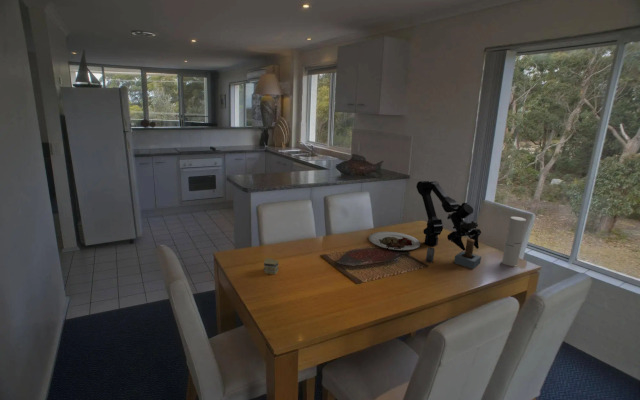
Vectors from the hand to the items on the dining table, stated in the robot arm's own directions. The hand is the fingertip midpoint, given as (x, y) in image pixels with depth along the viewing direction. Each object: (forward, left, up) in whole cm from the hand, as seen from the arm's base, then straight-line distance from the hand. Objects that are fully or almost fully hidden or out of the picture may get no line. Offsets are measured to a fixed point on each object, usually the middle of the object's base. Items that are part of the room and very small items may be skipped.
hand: (471, 249), depth 188 cm
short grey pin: (-16, -13, -8) cm, 22 cm away
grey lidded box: (-61, -82, -9) cm, 103 cm away
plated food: (-43, -3, -9) cm, 44 cm away
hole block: (-1, 0, -8) cm, 8 cm away
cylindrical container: (+15, +18, -8) cm, 25 cm away
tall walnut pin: (-1, 0, -8) cm, 8 cm away
